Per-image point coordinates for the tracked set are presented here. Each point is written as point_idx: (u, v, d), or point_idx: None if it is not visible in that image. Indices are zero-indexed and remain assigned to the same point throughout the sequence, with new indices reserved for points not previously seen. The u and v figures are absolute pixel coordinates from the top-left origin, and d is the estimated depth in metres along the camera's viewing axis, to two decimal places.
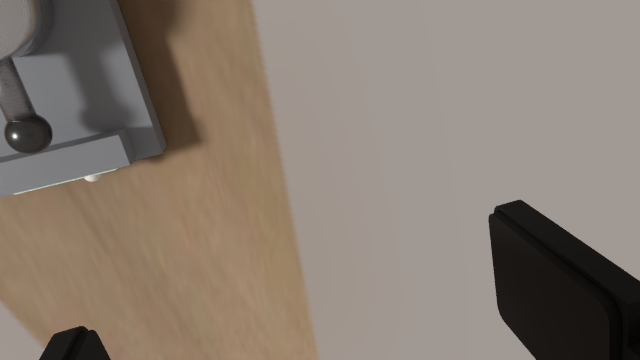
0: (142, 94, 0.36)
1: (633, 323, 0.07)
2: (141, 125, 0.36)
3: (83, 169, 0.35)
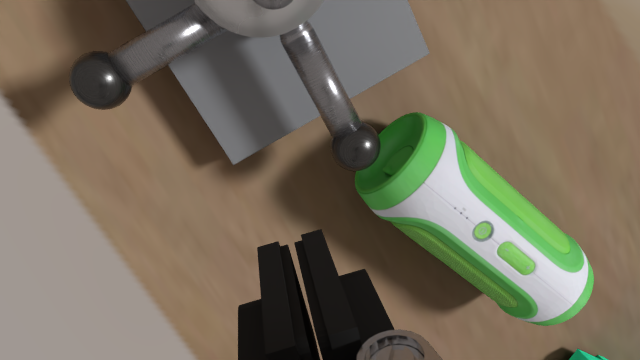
0: None
1: (339, 352, 0.08)
2: None
3: None
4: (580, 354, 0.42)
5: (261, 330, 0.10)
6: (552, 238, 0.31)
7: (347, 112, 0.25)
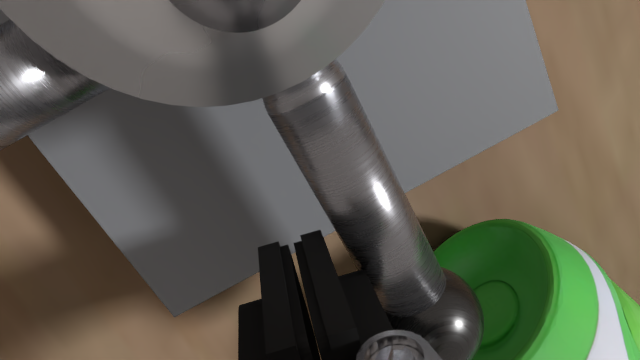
0: None
1: (338, 352, 0.08)
2: None
3: None
4: None
5: (261, 330, 0.10)
6: None
7: (419, 267, 0.11)
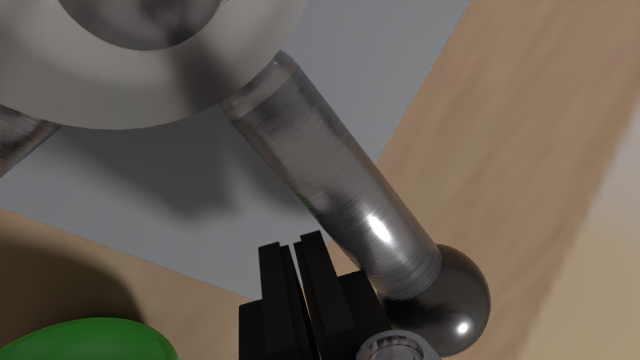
0: None
1: (338, 352, 0.08)
2: None
3: None
4: None
5: (261, 330, 0.10)
6: None
7: (409, 250, 0.10)
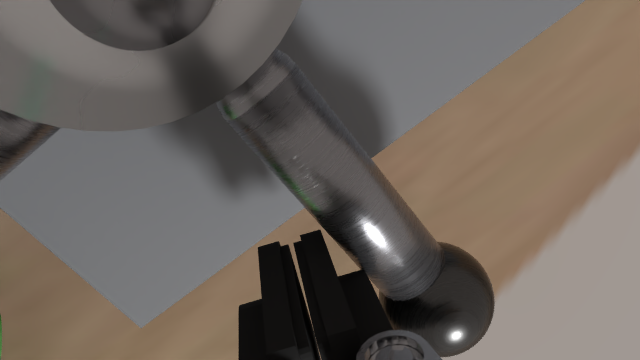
0: None
1: (338, 352, 0.08)
2: None
3: None
4: None
5: (261, 330, 0.10)
6: None
7: (410, 248, 0.10)
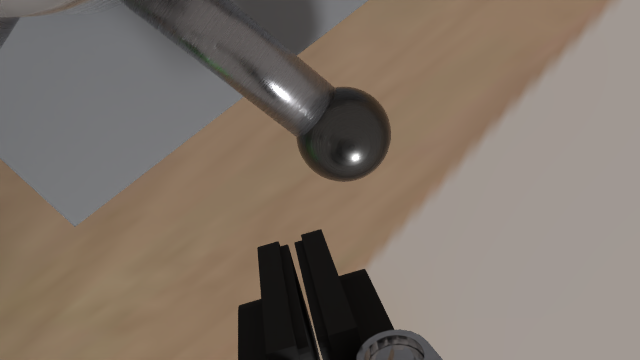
0: None
1: (339, 352, 0.08)
2: None
3: None
4: None
5: (261, 330, 0.10)
6: None
7: (297, 83, 0.13)
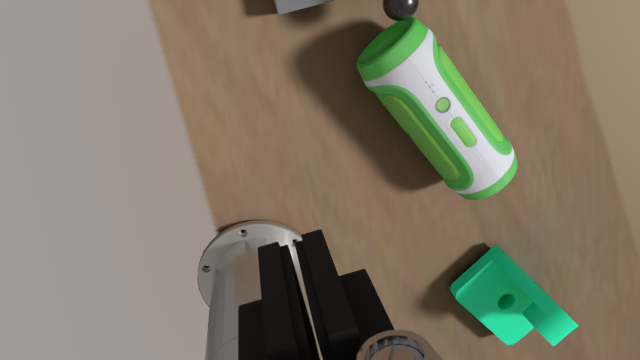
0: None
1: (339, 352, 0.08)
2: None
3: None
4: (496, 247, 0.54)
5: (260, 330, 0.10)
6: (490, 126, 0.43)
7: None
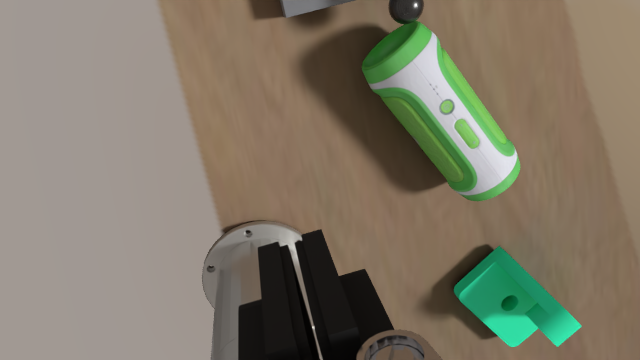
0: None
1: (339, 352, 0.08)
2: None
3: None
4: (500, 249, 0.54)
5: (260, 330, 0.10)
6: (494, 128, 0.44)
7: None
